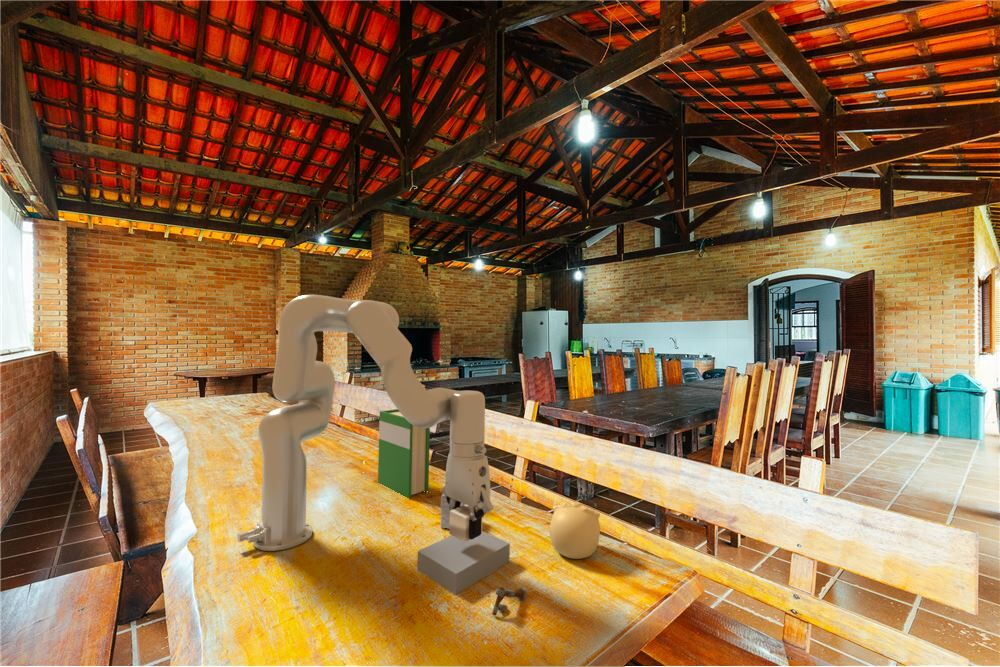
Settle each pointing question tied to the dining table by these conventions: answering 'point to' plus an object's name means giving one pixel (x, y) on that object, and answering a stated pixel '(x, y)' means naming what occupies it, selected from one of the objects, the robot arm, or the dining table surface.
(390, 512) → the dining table surface
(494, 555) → the stand
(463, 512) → the wooden cube
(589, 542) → the sculpture
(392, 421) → the hardback book
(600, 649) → the dining table surface
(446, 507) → the medicine box
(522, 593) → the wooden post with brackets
